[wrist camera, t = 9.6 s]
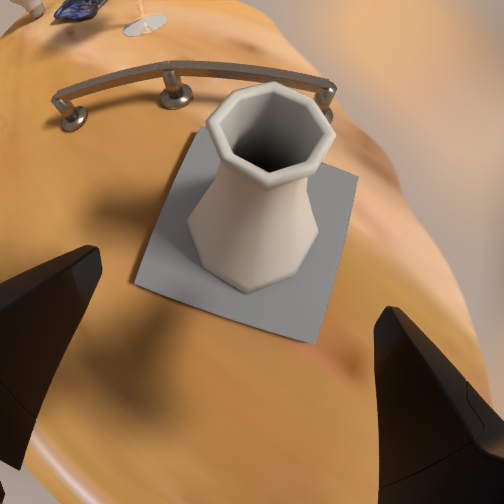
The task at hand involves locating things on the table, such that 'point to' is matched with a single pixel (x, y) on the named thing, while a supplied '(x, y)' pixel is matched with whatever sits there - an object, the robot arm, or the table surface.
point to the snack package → (78, 9)
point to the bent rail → (181, 93)
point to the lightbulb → (32, 6)
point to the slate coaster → (224, 294)
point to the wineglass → (144, 22)
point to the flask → (260, 186)
